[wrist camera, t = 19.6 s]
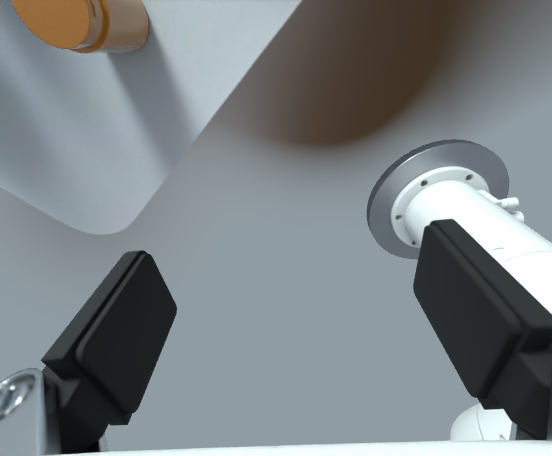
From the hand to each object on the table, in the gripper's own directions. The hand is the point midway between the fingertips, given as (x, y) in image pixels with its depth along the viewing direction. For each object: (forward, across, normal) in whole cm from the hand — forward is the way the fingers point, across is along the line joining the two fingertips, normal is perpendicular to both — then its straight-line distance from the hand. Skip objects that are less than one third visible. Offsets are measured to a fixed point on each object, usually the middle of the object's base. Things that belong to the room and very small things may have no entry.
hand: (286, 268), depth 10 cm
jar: (+28, +16, -12) cm, 34 cm away
